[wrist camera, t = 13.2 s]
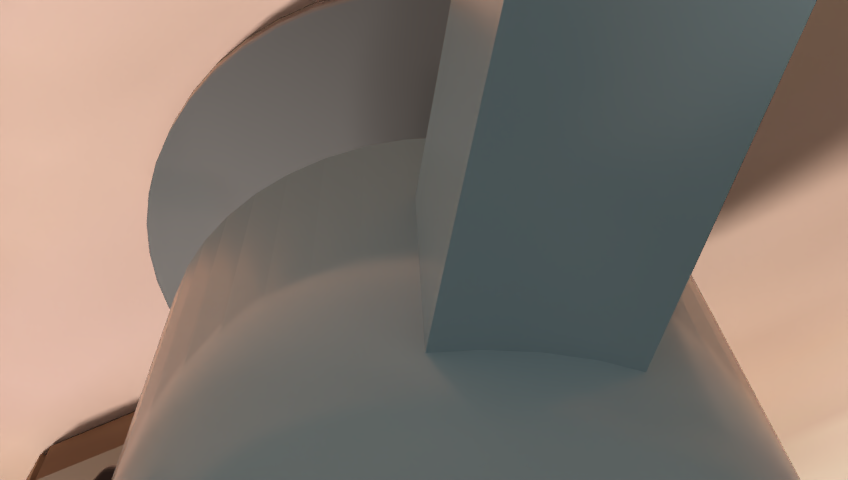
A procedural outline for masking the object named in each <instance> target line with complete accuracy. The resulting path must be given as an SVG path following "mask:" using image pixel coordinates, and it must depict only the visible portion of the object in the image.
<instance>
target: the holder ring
mask: <svg viewBox="0 0 848 480" xmlns="http://www.w3.org/2000/svg"><path fill="white" fill-rule="evenodd" d="M134 413H135V412H133V413H130V414H128V415H125V416H123V417H120V418H118V419H116V420H113V421H111V422H108V423H106V424H104V425H101V426H99V427H96V428H94V429H91V430H89V431H87V432H84V433H82V434H79V435H77V436H74V437H72V438H70V439H67V440H65V441H62V442H60V443H58V444H55V445H53V446H50V448H49V450H48V452H47V455H46V456H45V455H42V454H41V455H40V456H39V458H38V460H37V462H36V463H35V465H34V467H33V469H32V471H31V472H30V474H29V476H28V478H27V479H26V480H93V479H94V478H95V477H96V476H97V475H98V474H99V472H100V471H101V470H103V469H104V468H105V467H107V466H110V465H117V463H118V460H119V457H120V454H121V451H122V448H123V445H124V442H125V439H126V437H127V434H128V431H129V428H130V425H131V422H132V419H133V416H134Z"/></svg>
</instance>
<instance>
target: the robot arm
mask: <svg viewBox="0 0 848 480" xmlns="http://www.w3.org/2000/svg"><path fill="white" fill-rule="evenodd" d="M115 468H116V465H110V466H107V467H105V468H104V469H103V470H101V471H100V472H99V474H98V475H97V476H96V477H95V478H94V479H93V480H112V477H113V474H114V471H115Z"/></svg>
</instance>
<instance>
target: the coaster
mask: <svg viewBox="0 0 848 480" xmlns="http://www.w3.org/2000/svg"><path fill="white" fill-rule="evenodd" d="M450 4H451V0H324V1H320V2H317V3H314V4H312V5H309V6H307V7H305V8H303V9H300V10H298V11H296V12H294V13H291V14H289V15H287V16H285V17H282V18H280V19H278V20H276V21H275V22H273V23H272V24H270V25H268V26H267V27H265V28H264V29H262V30H260V31H259V32H257V33H256V34H254V35H252V36H251V37H249V38H248V39H246V40H245V41H243V42H242V43H241V44H240V45H239V46H238V47H236V48H235V49H234V50H233V51H232V52H230V53H229V54H228V55H227V56H226V57H225V58H223V59H222V60H221V61H220V62H219V63H217V64H216V66H215V67H214V68H213V69H212V70H211V71H210V72H209V74H208V75H207V76H206V77H205V78H204V79H203V80H202V82H201V83H200V84H199V85H198V86H197V87H196V88H195V90H194V91H193V92H192V94H191V95H190V97H189V98H188V100H187V102H186V103H185V105H184V106H183V108H182V110H181V111H180V113H179V114H178V116H177V118H176V119H175V121H174V123H173V125H172V127H171V129H170V131H169V134H168V136H167V138H166V141H165V143H164V145H163V148H162V150H161V153H160V155H159V157H158V160H157V162H156V165H155V170H154V174H153V178H152V182H151V186H150V191H149V198H148V213H147V231H148V241H149V250H150V256H151V260H152V263H153V267H154V271H155V274H156V278H157V282H158V284H159V286H160V288H161V291H162V293H163V295H164V297H165V300H166V302H167V304H168V306H169V308H170V309H171V306H172V303H173V300H174V297H175V294H176V292H177V290H178V287H179V285H180V283H181V281H182V278H183V276H184V274H185V272H186V269H187V267H188V265H189V264H190V262H191V261H192V259H193V258H194V256H195V255H196V253H197V252H198V250H199V249H200V247H201V246H202V244H203V243H204V241H205V240H206V239H207V238H208V237H209V236H210V235H211V234H212V233H213V231H214V230H215V229H216V228H217V227H218V226H219V225H220V224H221V223H222V222H223V221H224V220H225V218H226V217H227V216H228V215H230V214H231V213H232V212H233V211H235V210H236V209H237V208H238V207H240V206H241V205H242V204H243V203H245V202H246V201H247V200H248V199H250V198H251V197H252V196H253V195H255V194H256V193H258V192H259V191H261V190H263V189H264V188H266V187H268V186H269V185H271V184H273V183H274V182H276V181H278V180H279V179H281V178H283V177H284V176H286V175H288V174H290V173H292V172H294V171H297V170H299V169H301V168H304V167H306V166H308V165H311V164H313V163H315V162H317V161H320V160H322V159H324V158H327V157H331V156H334V155H338V154H341V153H344V152H348V151H351V150H355V149H358V148H361V147H365V146H371V145H377V144H382V143H388V142H394V141H400V140H406V139H425V138H426V135H427V130H428V124H429V119H430V113H431V108H432V102H433V97H434V91H435V86H436V81H437V75H438V70H439V64H440V59H441V53H442V48H443V42H444V37H445V31H446V26H447V20H448V15H449V9H450Z"/></svg>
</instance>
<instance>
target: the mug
mask: <svg viewBox="0 0 848 480" xmlns="http://www.w3.org/2000/svg"><path fill="white" fill-rule="evenodd" d="M816 1H817V0H451V4H450V9H449V15H448V20H447V26H446V31H445V37H444V42H443V48H442V53H441V59H440V64H439V70H438V75H437V81H436V86H435V91H434V97H433V102H432V108H431V113H430V119H429V124H428V130H427V135H426V138H425V139H406V140H400V141H394V142H388V143H382V144H377V145H371V146H365V147H361V148H358V149H355V150H351V151H348V152H344V153H341V154H338V155H334V156H331V157H327V158H324V159H322V160H320V161H317V162H315V163H313V164H311V165H308V166H306V167H304V168H301V169H299V170H297V171H294V172H292V173H290V174H288V175H286V176H284V177H283V178H281V179H279V180H278V181H276V182H274V183H273V184H271V185H269V186H268V187H266V188H264V189H263V190H261V191H259V192H258V193H256V194H255V195H253V196H252V197H251V198H250V199H248V200H247V201H246V202H245V203H243V204H242V205H241V206H240V207H238V208H237V209H236V210H235V211H233V212H232V213H231V214H230V215H228V216H227V217H226V218H225V220H224V221H223V222H222V223H221V224H220V225H219V226H218V227H217V228H216V229H215V230H214V231H213V233H212V234H211V235H210V236H209V237H208V238H207V239H206V240H205V241H204V243H203V244H202V246H201V247H200V249H199V250H198V252H197V253H196V255H195V256H194V258H193V259H192V261H191V262H190V264H189V265H188V267H187V269H186V272H185V274H184V276H183V278H182V281H181V283H180V285H179V287H178V290H177V292H176V294H175V297H174V300H173V303H172V306H171V309H170V312H169V315H168V318H167V321H166V323H165V326H164V329H163V332H162V335H161V338H160V341H159V344H158V347H157V350H156V352H155V355H154V358H153V361H152V364H151V367H150V370H149V373H148V376H147V379H146V381H145V384H144V387H143V390H142V393H141V396H140V399H139V402H138V405H137V408H136V410H135V413H134V416H133V419H132V422H131V425H130V428H129V431H128V434H127V437H126V439H125V442H124V445H123V448H122V451H121V454H120V457H119V460H118V463H117V465H116V468H115V471H114V474H113V477H112V480H800V478H799V476H798V474H797V473H796V471H795V469H794V467H793V465H792V463H791V461H790V459H789V457H788V456H787V454H786V452H785V450H784V448H783V446H782V444H781V442H780V441H779V439H778V437H777V435H776V433H775V431H774V429H773V427H772V425H771V424H770V422H769V420H768V418H767V416H766V414H765V412H764V410H763V409H762V407H761V405H760V403H759V401H758V399H757V397H756V395H755V393H754V392H753V390H752V388H751V386H750V384H749V382H748V380H747V378H746V377H745V375H744V373H743V371H742V369H741V367H740V365H739V363H738V361H737V360H736V358H735V356H734V354H733V352H732V350H731V348H730V346H729V345H728V343H727V341H726V339H725V337H724V335H723V333H722V331H721V330H720V328H719V326H718V324H717V322H716V320H715V318H714V316H713V314H712V313H711V311H710V309H709V307H708V305H707V303H706V301H705V299H704V298H703V296H702V294H701V292H700V290H699V288H698V286H697V284H696V282H695V281H694V279H693V277H692V275H691V273H692V271H693V269H694V267H695V265H696V262H697V260H698V258H699V256H700V254H701V252H702V249H703V247H704V245H705V243H706V241H707V238H708V236H709V234H710V232H711V230H712V228H713V225H714V223H715V221H716V219H717V217H718V215H719V212H720V210H721V208H722V206H723V204H724V201H725V199H726V197H727V195H728V193H729V191H730V188H731V186H732V184H733V182H734V180H735V178H736V175H737V173H738V171H739V169H740V167H741V164H742V162H743V160H744V158H745V156H746V154H747V151H748V149H749V147H750V145H751V143H752V141H753V138H754V136H755V134H756V132H757V130H758V127H759V125H760V123H761V121H762V119H763V117H764V114H765V112H766V110H767V108H768V106H769V104H770V101H771V99H772V97H773V95H774V93H775V90H776V88H777V86H778V84H779V82H780V80H781V77H782V75H783V73H784V71H785V69H786V67H787V64H788V62H789V60H790V58H791V56H792V53H793V51H794V49H795V47H796V45H797V43H798V40H799V38H800V36H801V34H802V32H803V30H804V27H805V25H806V23H807V21H808V19H809V16H810V14H811V12H812V10H813V8H814V6H815V3H816Z"/></svg>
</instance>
